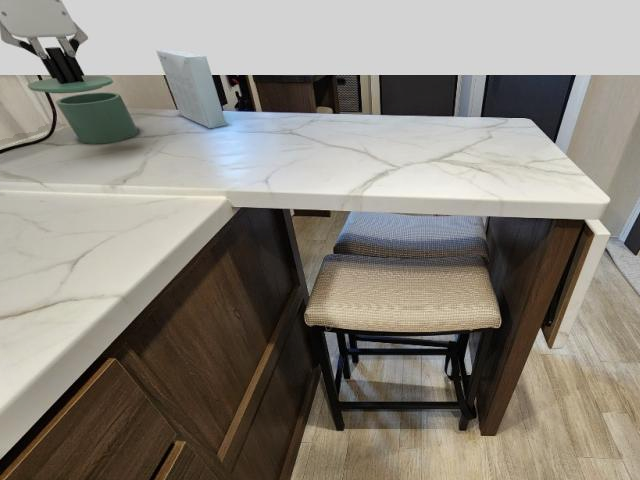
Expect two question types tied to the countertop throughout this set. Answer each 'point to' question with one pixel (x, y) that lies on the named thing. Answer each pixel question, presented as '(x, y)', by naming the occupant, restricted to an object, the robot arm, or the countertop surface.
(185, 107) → the skincare box
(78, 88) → the tin lid
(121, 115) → the tin
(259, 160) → the countertop surface
